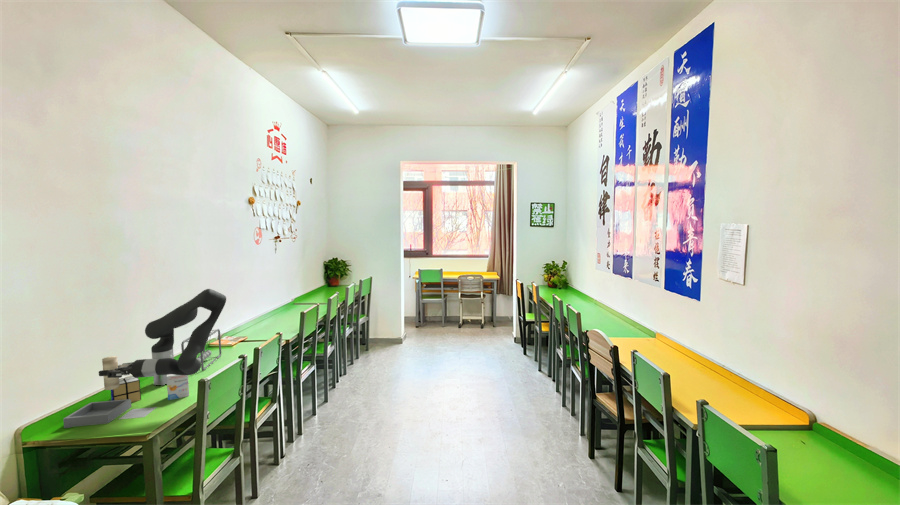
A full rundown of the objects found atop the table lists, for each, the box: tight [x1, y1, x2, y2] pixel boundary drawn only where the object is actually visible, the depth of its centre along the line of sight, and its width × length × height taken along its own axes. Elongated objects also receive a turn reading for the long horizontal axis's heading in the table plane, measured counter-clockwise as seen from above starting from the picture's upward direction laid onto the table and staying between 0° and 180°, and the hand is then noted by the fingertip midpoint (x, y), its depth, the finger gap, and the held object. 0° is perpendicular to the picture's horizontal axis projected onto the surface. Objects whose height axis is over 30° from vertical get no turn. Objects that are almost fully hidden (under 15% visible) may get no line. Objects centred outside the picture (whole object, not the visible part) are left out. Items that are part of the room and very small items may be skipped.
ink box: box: [166, 374, 190, 401], centre depth 196 cm, size 8×5×15 cm, turn 123°
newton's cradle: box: [180, 328, 222, 371], centre depth 246 cm, size 30×10×18 cm, turn 11°
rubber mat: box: [117, 406, 158, 420], centre depth 179 cm, size 10×10×1 cm
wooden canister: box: [101, 355, 120, 391], centre depth 177 cm, size 5×5×13 cm
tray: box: [62, 399, 132, 429], centre depth 177 cm, size 16×16×4 cm
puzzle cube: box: [110, 375, 142, 403], centre depth 194 cm, size 10×10×10 cm
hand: (103, 371), depth 176 cm, fingers closed on wooden canister, 5 cm apart
